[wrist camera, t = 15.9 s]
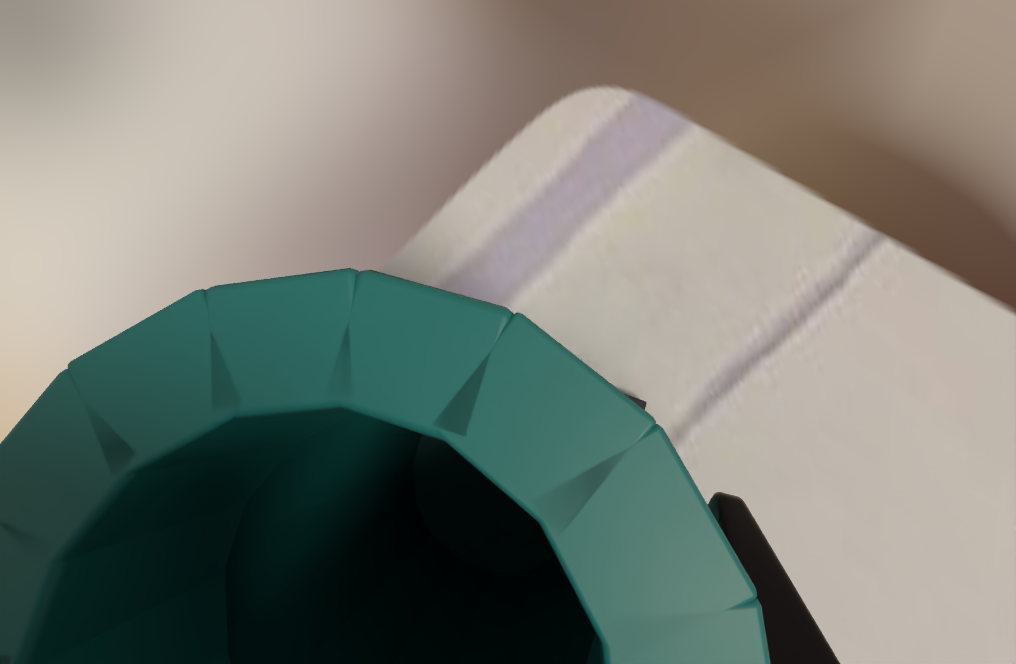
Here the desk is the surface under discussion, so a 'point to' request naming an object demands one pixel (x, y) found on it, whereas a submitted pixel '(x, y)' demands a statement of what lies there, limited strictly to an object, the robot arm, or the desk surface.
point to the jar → (355, 495)
